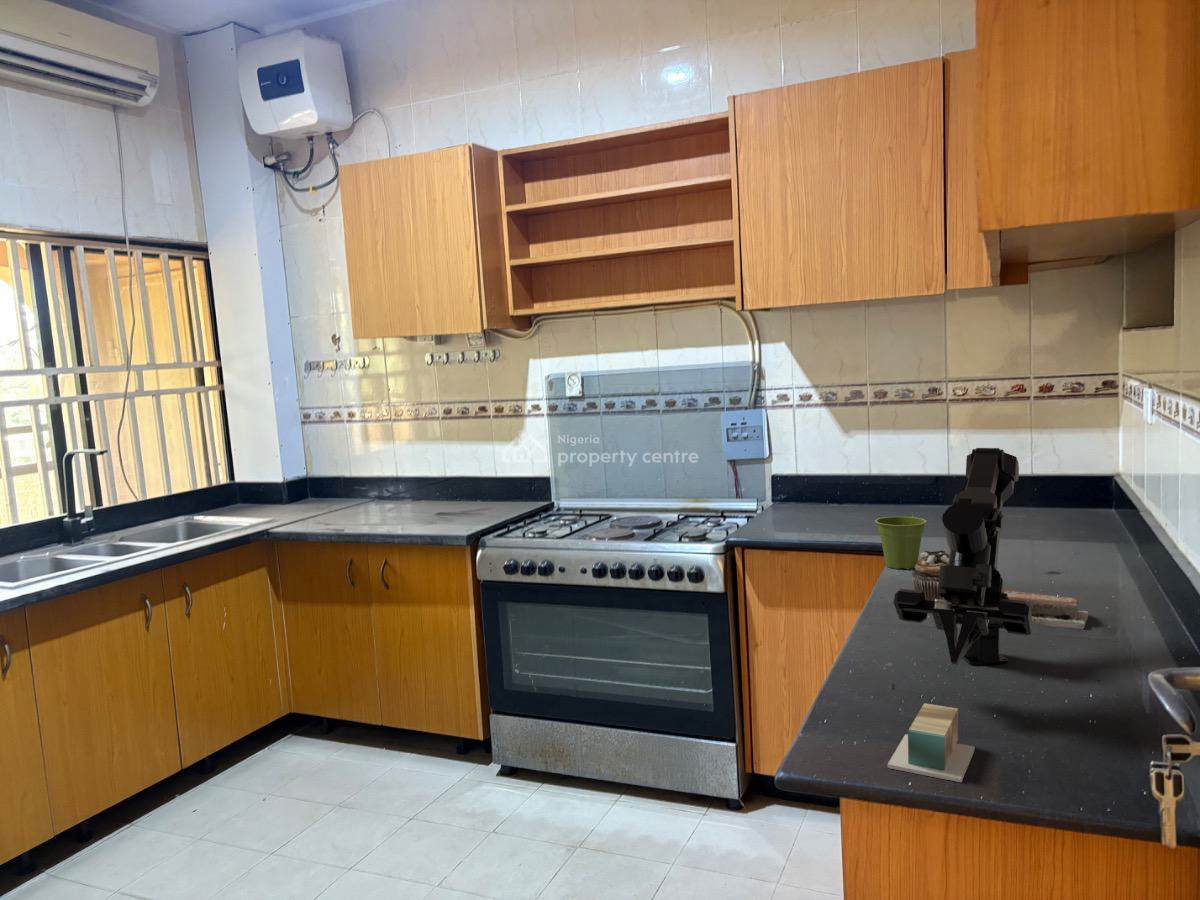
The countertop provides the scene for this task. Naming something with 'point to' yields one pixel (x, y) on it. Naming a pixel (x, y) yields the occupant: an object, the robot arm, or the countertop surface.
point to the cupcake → (929, 573)
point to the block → (933, 736)
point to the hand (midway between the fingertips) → (954, 663)
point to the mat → (951, 772)
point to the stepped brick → (1052, 610)
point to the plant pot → (901, 540)
